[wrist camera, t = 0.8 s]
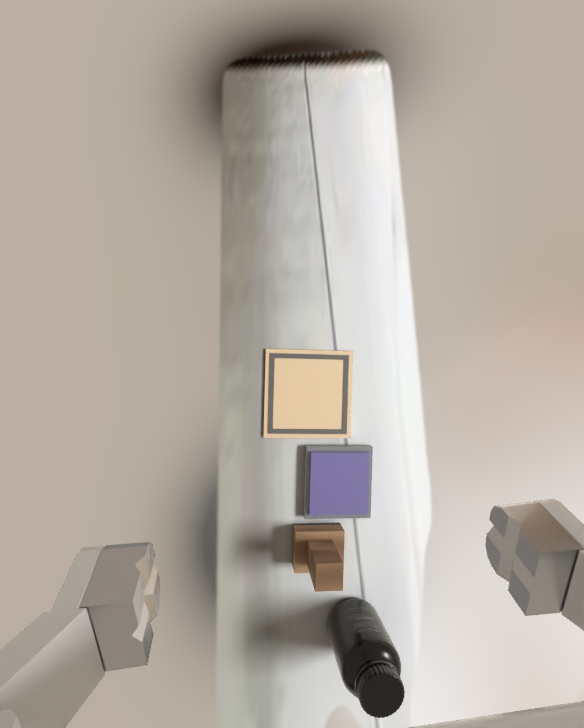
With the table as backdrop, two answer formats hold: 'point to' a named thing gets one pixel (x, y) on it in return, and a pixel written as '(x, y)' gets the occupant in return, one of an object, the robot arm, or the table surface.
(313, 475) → the ink pad
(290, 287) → the table surface
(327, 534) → the stamp
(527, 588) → the robot arm
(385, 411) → the table surface
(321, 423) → the marked card
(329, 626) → the supplement bottle
